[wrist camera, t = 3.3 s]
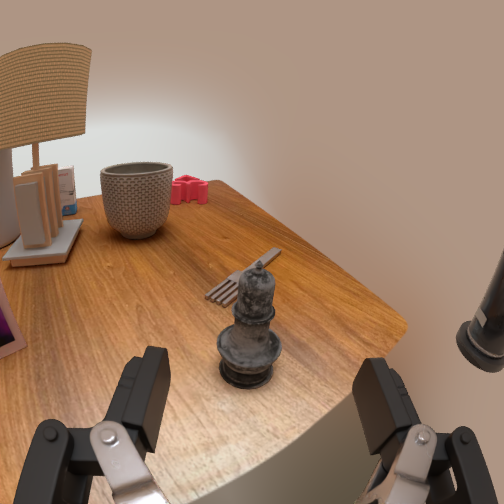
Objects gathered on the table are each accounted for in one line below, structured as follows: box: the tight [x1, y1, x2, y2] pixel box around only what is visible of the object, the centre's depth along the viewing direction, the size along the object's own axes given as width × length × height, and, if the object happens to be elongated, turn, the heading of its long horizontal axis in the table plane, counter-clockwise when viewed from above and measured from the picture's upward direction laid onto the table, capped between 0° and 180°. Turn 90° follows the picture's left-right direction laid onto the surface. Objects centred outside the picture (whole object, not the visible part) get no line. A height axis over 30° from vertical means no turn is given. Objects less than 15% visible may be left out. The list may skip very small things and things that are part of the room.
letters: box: [170, 175, 208, 205], centre depth 76 cm, size 14×10×5 cm
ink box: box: [58, 166, 77, 216], centre depth 57 cm, size 9×5×12 cm, turn 116°
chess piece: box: [217, 260, 282, 389], centre depth 24 cm, size 6×6×12 cm
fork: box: [205, 247, 281, 307], centre depth 43 cm, size 19×3×1 cm, turn 151°
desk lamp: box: [0, 43, 92, 267], centre depth 35 cm, size 20×20×35 cm
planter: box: [100, 162, 173, 239], centre depth 50 cm, size 14×14×13 cm
